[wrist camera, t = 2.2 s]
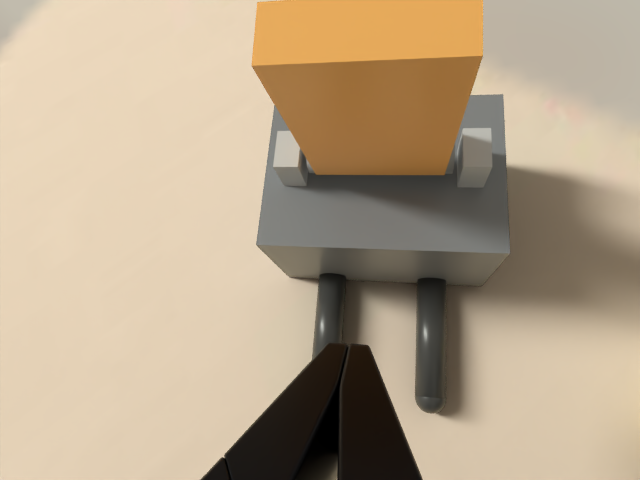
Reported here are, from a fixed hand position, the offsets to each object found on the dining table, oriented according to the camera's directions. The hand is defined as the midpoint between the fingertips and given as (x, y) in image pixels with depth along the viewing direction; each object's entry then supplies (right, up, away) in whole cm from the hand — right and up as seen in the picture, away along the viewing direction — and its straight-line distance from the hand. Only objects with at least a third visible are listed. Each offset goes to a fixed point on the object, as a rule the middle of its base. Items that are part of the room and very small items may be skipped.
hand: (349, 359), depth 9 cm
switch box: (+3, +1, +14) cm, 14 cm away
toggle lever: (+2, +6, +8) cm, 10 cm away
